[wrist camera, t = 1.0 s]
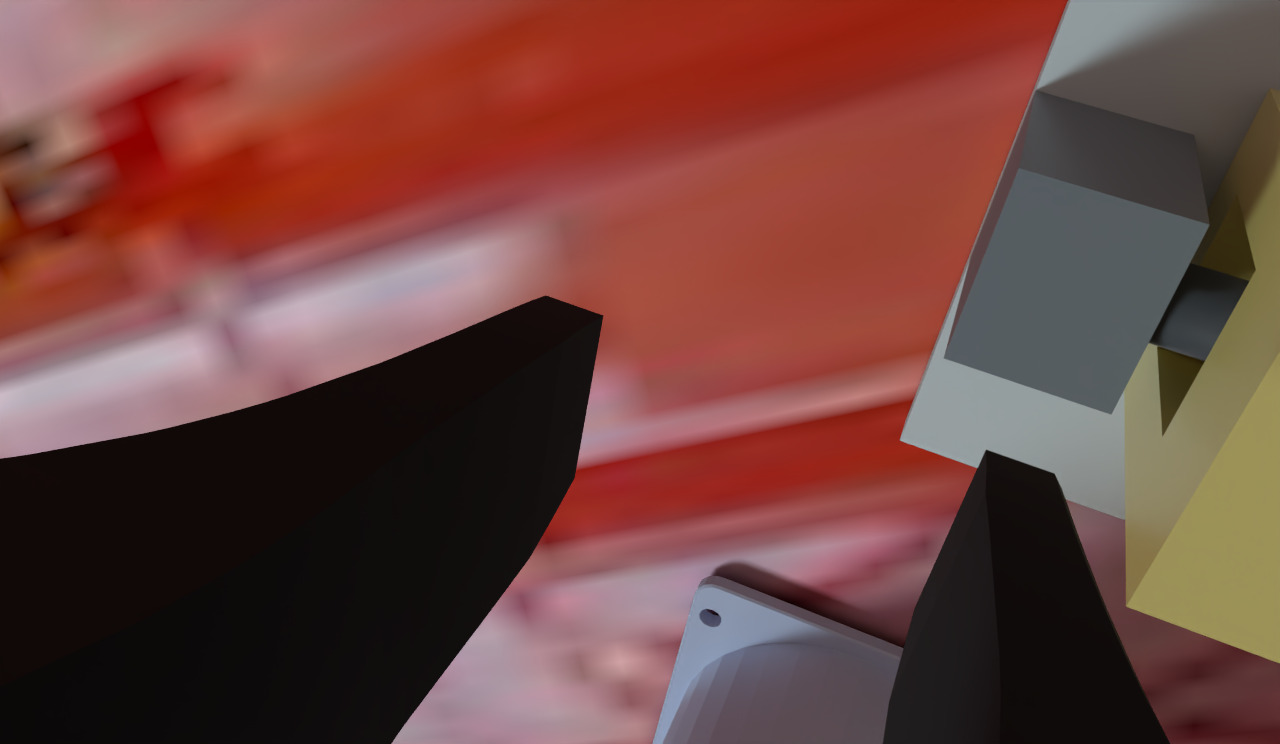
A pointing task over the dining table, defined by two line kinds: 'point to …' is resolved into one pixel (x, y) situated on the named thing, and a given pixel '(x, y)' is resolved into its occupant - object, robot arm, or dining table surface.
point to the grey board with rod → (1098, 237)
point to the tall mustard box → (1216, 432)
